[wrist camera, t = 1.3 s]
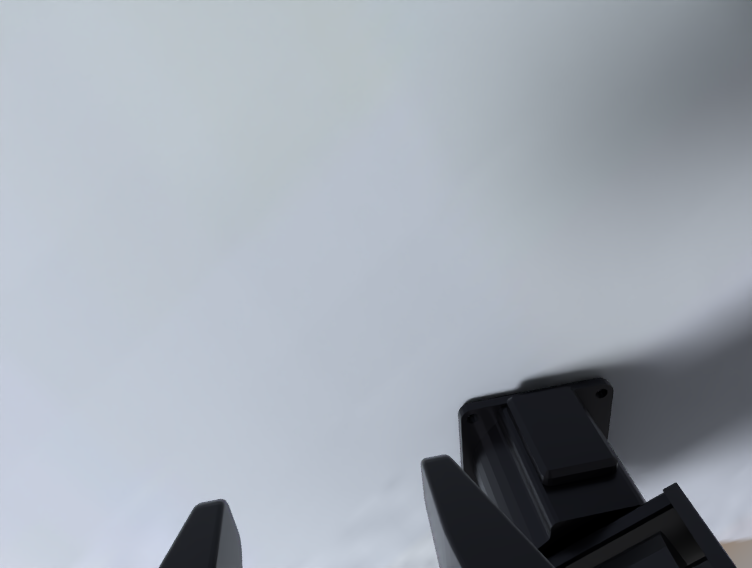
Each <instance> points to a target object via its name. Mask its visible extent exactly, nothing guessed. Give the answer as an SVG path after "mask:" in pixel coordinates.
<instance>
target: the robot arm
mask: <svg viewBox="0 0 752 568" xmlns="http://www.w3.org/2000/svg"><path fill="white" fill-rule="evenodd" d="M599 390H600V391H599ZM612 398H613V388H612V386H611V385H610V383H609V382H608V381H607V380H606V379H604V378H597V379H592V380H586V381H581V382H576V383H571V384H566V385H561V386H555V387H550V388H545V389H540V390H535V391H529V392H524V393H519V394H514V395H509V396H504V397H498V398H493V399H488V400H483V401H478V402H472V403H468V404H465V405H464V406H462V407H461V408H460V410H459V413H458V419H459V436H460V454H461V467H460V466H459V465H458V464H457V463H456V462H455V461H454V460H453V459H452V458H451V457H450V456H448V455H439V456H434V457H429V458H425V459H423V460H422V462H421V472H422V481H423V490H424V499H425V505H426V510H427V514H428V519H429V523H430V527H431V532H432V536H433V540H434V545H435V549H436V553H437V558H438V562H439V566H440V568H737V567H736V566H735V564H734V563H733V561H732V560H731V559H730V557H729V556H728V554H727V553H726V552H725V550H724V549H723V547H722V546H721V544H720V543H719V542H718V540H717V539H716V537H715V536H714V535H713V533H712V532H711V530H710V529H709V528H708V526H707V525H706V523H705V522H704V521H703V519H702V518H701V516H700V515H699V514H698V512H697V511H696V509H695V508H694V507H693V505H692V504H691V502H690V501H689V500H688V498H687V497H686V495H685V494H684V493H683V491H682V490H681V488H680V487H679V486H678V484H677V483H674V484H672V485H670V486H668V487H667V488H665V489H663V492H664V493H662V494H660V495H658V496H656V497H655V498H653V499H651V500H649V501H648V502H646V501H645V499H644V498H643V496H642V495H641V493H640V491H639V490H638V488H637V487H636V485H635V484H634V482H633V480H632V479H631V477H630V476H629V474H628V473H627V471H626V469H625V468H624V466H623V465H622V463H621V462H620V460H619V458H618V457H617V455H616V454H615V452H614V450H613V449H612V447H611V446H610V444H609V443H608V441H607V439H608V431H609V423H610V415H611V406H612ZM471 414H474V415H473V416H470V417H468V416H469V415H471ZM159 568H242V548H241V541H240V536H239V532H238V529H237V527H236V524H235V521H234V519H233V516H232V513H231V510H230V508H229V505H228V503H227V502H226V501H225V500H224V499H218V500H212V501H207V502H202V503H199V504H198V505H196V506H195V507H194V509H193V510H192V512H191V514H190V515H189V517H188V519H187V520H186V522H185V524H184V526H183V527H182V529H181V531H180V532H179V534H178V536H177V537H176V539H175V541H174V543H173V544H172V546H171V548H170V549H169V551H168V553H167V555H166V556H165V558H164V560H163V561H162V563H161V565H160V567H159Z"/></svg>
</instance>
